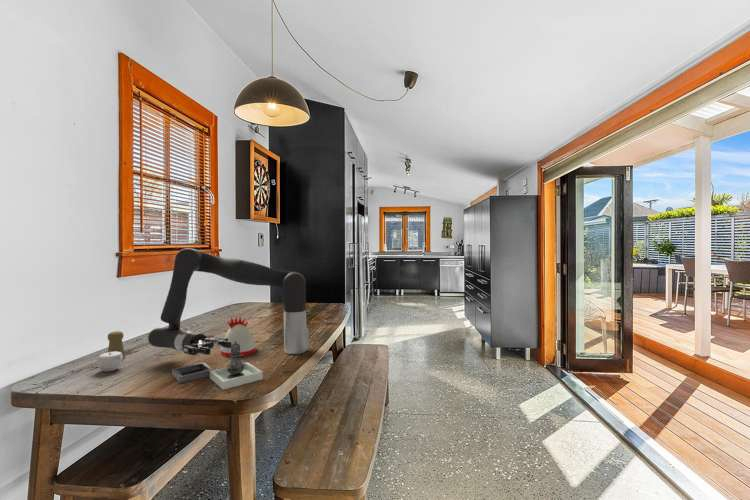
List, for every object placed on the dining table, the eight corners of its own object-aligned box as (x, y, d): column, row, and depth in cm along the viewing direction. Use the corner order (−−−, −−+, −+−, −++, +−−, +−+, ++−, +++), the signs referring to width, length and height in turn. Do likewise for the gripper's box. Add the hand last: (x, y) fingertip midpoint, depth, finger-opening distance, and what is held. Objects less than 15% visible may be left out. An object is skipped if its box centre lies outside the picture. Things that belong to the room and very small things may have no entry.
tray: (247, 369, 130) (247, 362, 130) (262, 379, 120) (262, 371, 120) (209, 378, 122) (209, 370, 122) (222, 389, 112) (222, 381, 112)
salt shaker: (243, 378, 119) (242, 342, 118) (224, 380, 118) (223, 343, 118) (246, 372, 124) (246, 338, 124) (229, 373, 124) (228, 339, 123)
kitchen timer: (220, 349, 155) (219, 315, 155) (253, 345, 161) (253, 312, 160) (221, 359, 142) (220, 321, 142) (257, 354, 148) (257, 318, 148)
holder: (204, 367, 132) (204, 362, 132) (213, 375, 125) (213, 369, 124) (172, 374, 125) (172, 368, 125) (179, 383, 118) (179, 377, 118)
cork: (128, 357, 145) (128, 330, 144) (112, 362, 139) (111, 334, 139) (119, 356, 147) (118, 329, 147) (103, 360, 142) (102, 332, 142)
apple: (121, 364, 136) (121, 347, 136) (125, 370, 131) (125, 352, 131) (95, 370, 131) (94, 352, 131) (98, 375, 125) (97, 357, 125)
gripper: (171, 336, 126) (201, 342, 118) (207, 328, 138) (236, 333, 131) (172, 358, 126) (202, 365, 118) (208, 347, 139) (237, 353, 131)
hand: (220, 348), depth 125 cm, fingers open, 8 cm apart
